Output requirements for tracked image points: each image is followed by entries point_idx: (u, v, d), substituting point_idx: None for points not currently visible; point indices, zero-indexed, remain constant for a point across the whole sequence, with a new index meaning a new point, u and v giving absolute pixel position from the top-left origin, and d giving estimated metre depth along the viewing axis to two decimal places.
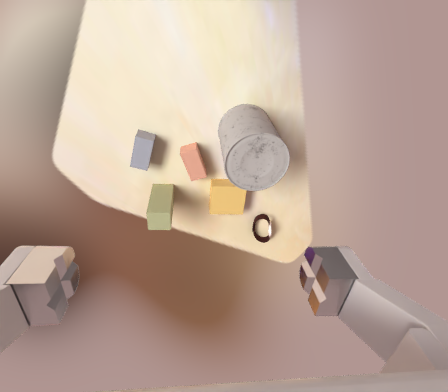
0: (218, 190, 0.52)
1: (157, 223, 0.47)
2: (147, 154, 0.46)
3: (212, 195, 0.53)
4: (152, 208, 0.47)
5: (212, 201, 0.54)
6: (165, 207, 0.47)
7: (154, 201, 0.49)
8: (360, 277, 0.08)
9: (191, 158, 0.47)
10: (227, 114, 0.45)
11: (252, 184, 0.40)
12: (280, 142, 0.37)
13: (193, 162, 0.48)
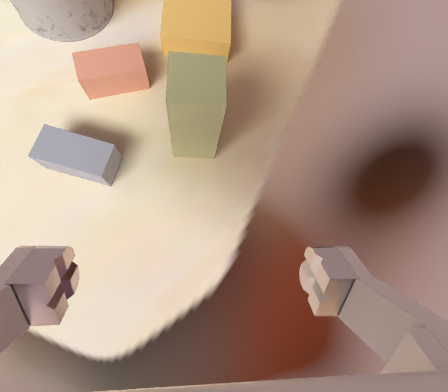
0: (171, 25, 0.27)
1: (202, 81, 0.18)
2: (74, 138, 0.22)
3: (183, 35, 0.26)
4: None
5: (198, 36, 0.27)
6: None
7: None
8: (360, 277, 0.08)
9: (91, 62, 0.24)
10: (24, 20, 0.27)
11: None
12: None
13: (101, 60, 0.24)
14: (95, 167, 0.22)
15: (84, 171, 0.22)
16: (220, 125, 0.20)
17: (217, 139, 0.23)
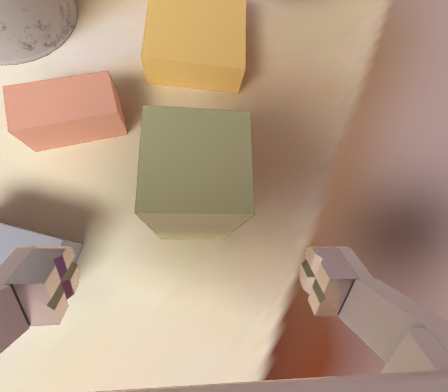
0: (158, 41, 0.18)
1: (206, 166, 0.09)
2: None
3: (175, 57, 0.18)
4: None
5: (197, 58, 0.18)
6: None
7: None
8: (360, 277, 0.08)
9: (32, 102, 0.16)
10: None
11: None
12: None
13: (48, 98, 0.16)
14: None
15: None
16: (237, 225, 0.12)
17: (230, 231, 0.14)
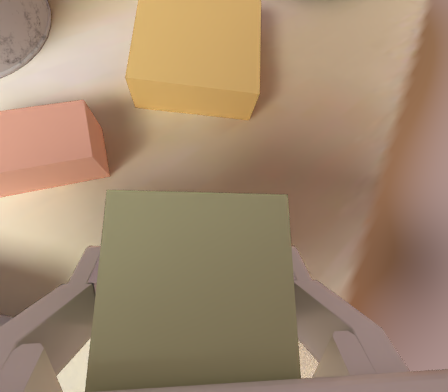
0: (148, 57, 0.14)
1: (216, 300, 0.05)
2: None
3: (169, 78, 0.14)
4: None
5: (198, 80, 0.14)
6: None
7: None
8: (298, 278, 0.08)
9: None
10: None
11: None
12: None
13: (0, 137, 0.12)
14: None
15: None
16: None
17: None
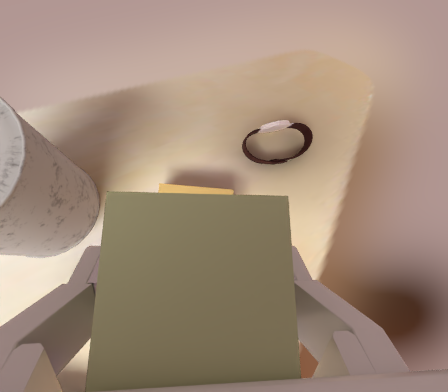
0: None
1: (216, 303, 0.05)
2: None
3: None
4: None
5: None
6: None
7: None
8: (298, 278, 0.08)
9: None
10: None
11: (3, 162, 0.14)
12: None
13: None
14: None
15: None
16: None
17: None
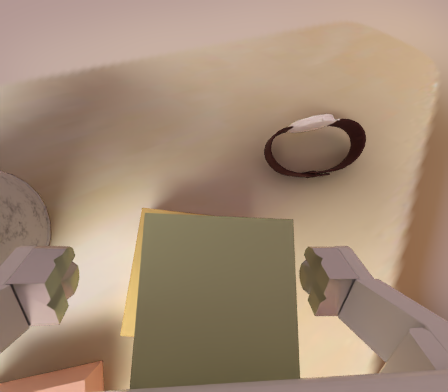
0: None
1: (234, 307, 0.07)
2: None
3: None
4: None
5: None
6: None
7: None
8: (360, 277, 0.08)
9: None
10: None
11: None
12: None
13: None
14: None
15: None
16: None
17: None
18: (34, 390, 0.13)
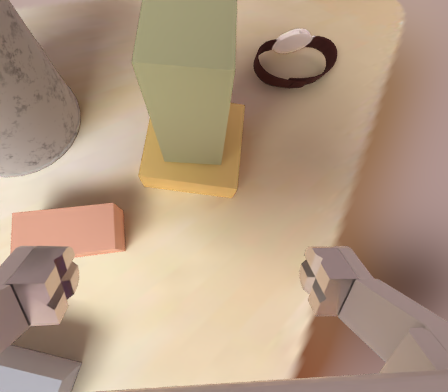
0: (155, 159, 0.19)
1: (195, 33, 0.11)
2: None
3: (171, 176, 0.19)
4: None
5: (192, 178, 0.19)
6: None
7: None
8: (360, 277, 0.08)
9: (37, 232, 0.16)
10: None
11: None
12: None
13: (52, 229, 0.17)
14: None
15: None
16: (226, 110, 0.13)
17: (223, 135, 0.15)
18: (75, 207, 0.17)
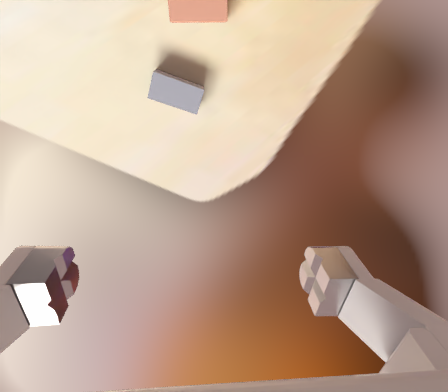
0: None
1: None
2: (176, 84, 0.31)
3: None
4: None
5: None
6: None
7: None
8: (360, 277, 0.08)
9: (182, 2, 0.27)
10: None
11: None
12: None
13: (191, 1, 0.27)
14: (192, 107, 0.32)
15: (185, 110, 0.32)
16: None
17: None
18: None
